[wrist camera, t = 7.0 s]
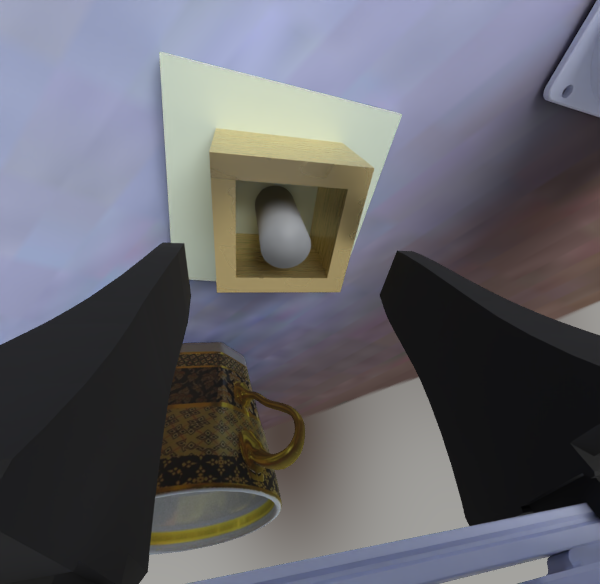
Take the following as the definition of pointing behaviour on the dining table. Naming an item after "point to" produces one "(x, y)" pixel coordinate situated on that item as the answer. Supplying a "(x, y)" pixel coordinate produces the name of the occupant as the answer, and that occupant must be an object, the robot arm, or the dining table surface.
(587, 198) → the dining table surface
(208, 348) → the ceramic cup
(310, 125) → the post plate
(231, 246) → the wooden square frame
